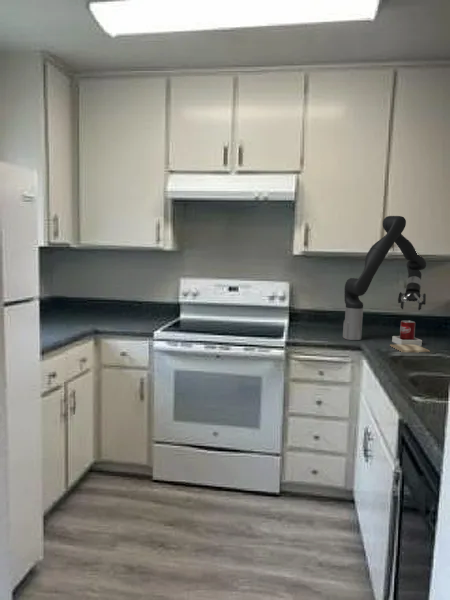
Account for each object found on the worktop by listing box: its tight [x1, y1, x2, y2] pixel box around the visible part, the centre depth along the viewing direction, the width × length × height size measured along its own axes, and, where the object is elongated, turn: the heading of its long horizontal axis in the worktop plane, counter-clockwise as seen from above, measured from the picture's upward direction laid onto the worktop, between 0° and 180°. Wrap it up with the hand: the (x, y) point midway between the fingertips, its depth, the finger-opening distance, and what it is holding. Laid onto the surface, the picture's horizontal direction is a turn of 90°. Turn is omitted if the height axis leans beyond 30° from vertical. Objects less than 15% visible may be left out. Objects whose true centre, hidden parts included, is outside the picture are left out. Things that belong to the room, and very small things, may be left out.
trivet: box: [389, 343, 431, 353], centre depth 245 cm, size 14×14×1 cm
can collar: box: [391, 335, 423, 347], centre depth 259 cm, size 11×11×3 cm
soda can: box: [399, 320, 416, 340], centre depth 259 cm, size 7×7×12 cm
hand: (410, 308), depth 268 cm, fingers open, 8 cm apart
